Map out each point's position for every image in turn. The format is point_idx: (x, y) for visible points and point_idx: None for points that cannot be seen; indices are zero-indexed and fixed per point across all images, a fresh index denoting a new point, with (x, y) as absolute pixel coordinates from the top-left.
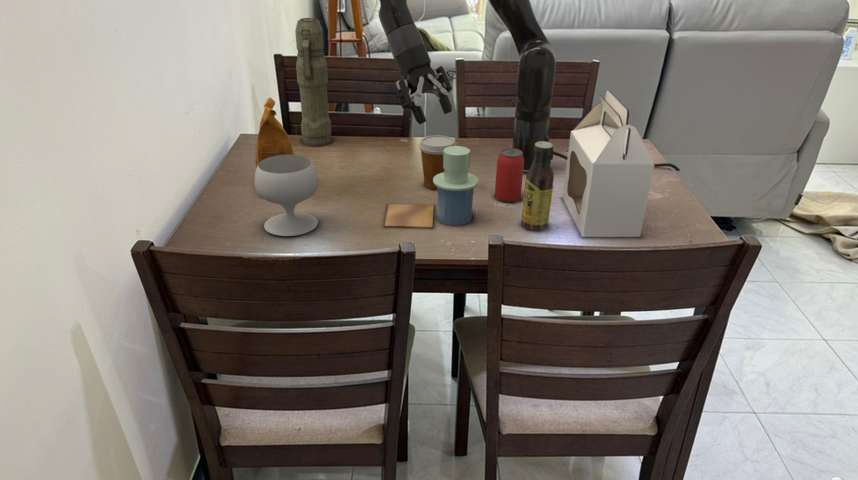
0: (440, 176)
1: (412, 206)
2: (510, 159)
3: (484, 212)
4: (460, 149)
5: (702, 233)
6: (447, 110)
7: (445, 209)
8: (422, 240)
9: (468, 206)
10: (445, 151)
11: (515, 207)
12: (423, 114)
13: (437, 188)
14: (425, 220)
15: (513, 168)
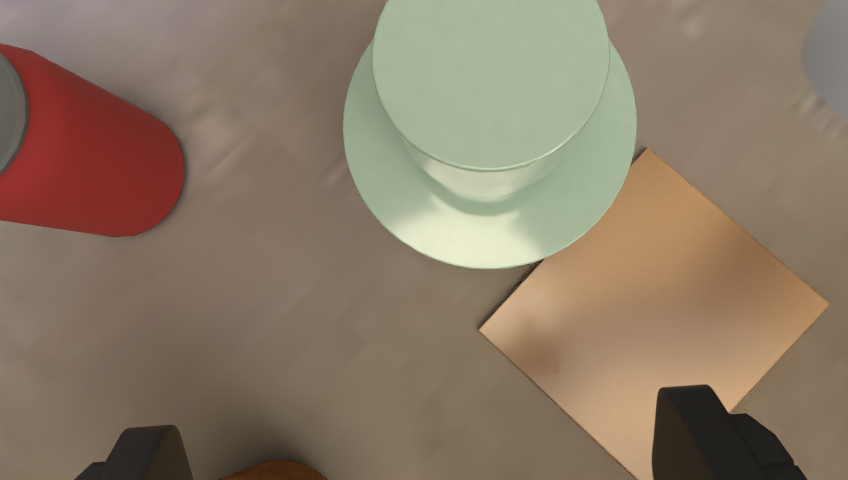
0: (528, 223)
1: (575, 386)
2: (26, 69)
3: (334, 124)
4: (447, 50)
5: None
6: (174, 473)
7: None
8: (764, 84)
9: None
10: (588, 93)
11: (184, 74)
12: (709, 447)
13: (320, 476)
14: (629, 220)
15: (55, 65)
